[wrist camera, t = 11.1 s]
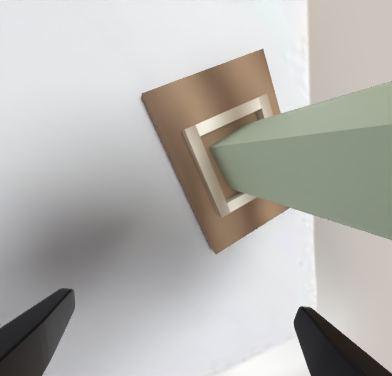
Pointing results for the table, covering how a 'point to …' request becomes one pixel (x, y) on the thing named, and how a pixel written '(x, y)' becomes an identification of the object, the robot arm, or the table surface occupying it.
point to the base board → (215, 140)
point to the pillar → (320, 159)
